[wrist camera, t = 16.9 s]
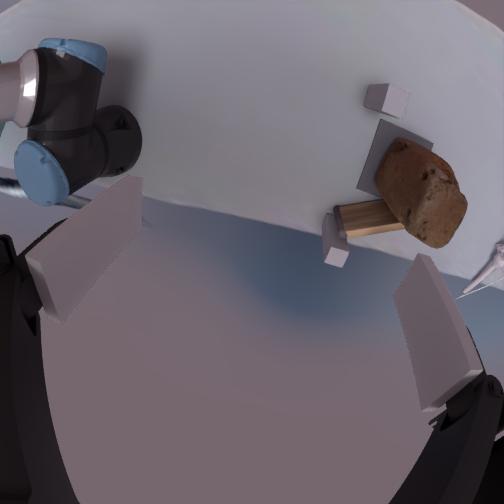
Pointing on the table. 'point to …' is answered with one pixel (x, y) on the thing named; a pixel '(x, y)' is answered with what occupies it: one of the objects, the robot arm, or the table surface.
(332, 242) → the door frame
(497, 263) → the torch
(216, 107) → the table surface
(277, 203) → the table surface
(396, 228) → the door
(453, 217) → the brown oblong lump
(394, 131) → the mat
